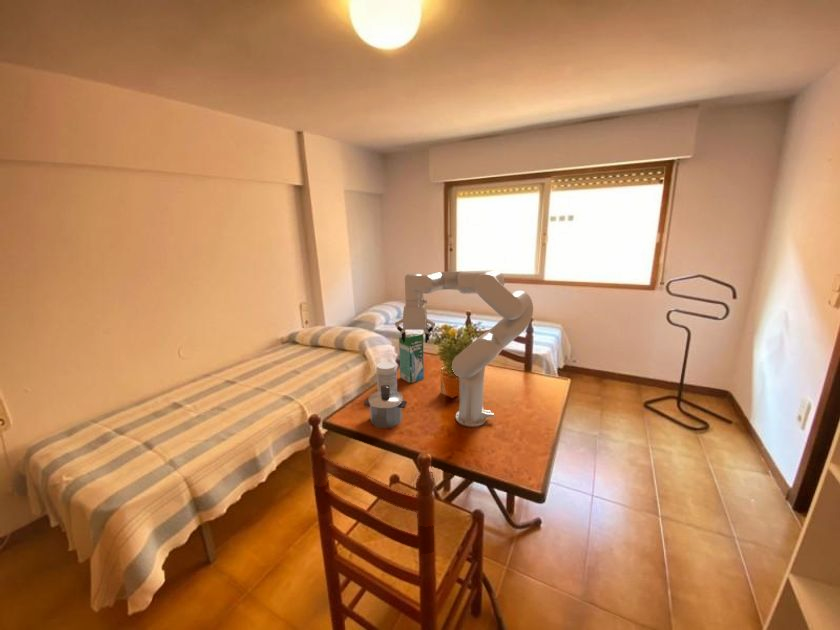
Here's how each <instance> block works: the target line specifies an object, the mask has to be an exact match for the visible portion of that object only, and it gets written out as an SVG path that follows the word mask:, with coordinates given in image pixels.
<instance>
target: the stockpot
mask: <svg viewBox="0 0 840 630" xmlns="http://www.w3.org/2000/svg"><path fill="white" fill-rule="evenodd" d="M368 399H369V398H366V399H365V401H364V403H363V406H364V407H365V406H366V407H369V416H370V423H371V424H372V426H374V427H376V428H378V429H389V428H394V427H396V426H398V425H399V424H400V423H401V421H402V419H403V415H402V414H403V413H402V409H406V406H407V404H408V401H407V400H403V401H402V403H401V404H400V405H398V406H396V407H393V408H389V409H379V408H375V407H372V406H371V405H370V404H369V401H368Z"/></svg>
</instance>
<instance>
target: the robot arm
mask: <svg viewBox="0 0 840 630" xmlns="http://www.w3.org/2000/svg"><path fill="white" fill-rule="evenodd" d="M440 290H453V291H454V290H456V291H459V293H460V294H463V295H465V294H467V295H469V294H477V295H478V296H479V297H480V298H481V299H482V300H483V301H484V302H485V303H486V304H487V305H488V306H489V307H490V308H492V310H494V312H496V313H497V314H498V315H499V316H501V319H500V320H499V321H498V322H497V323H496V324H495V325H494V326H493V327H491V328H490V329H488V330H487V331H486V332H484V333H482V334H481V335H480V336H479V337H477V338H476V339H474V341H473V342H471V343H470V344H469V345H468V346H467V347H466V348H464V349H463V350H461V351H460V353H458V354H457V355H456V356H455V357H454V358H453V359H452V362H451V368H452V370H453V372H454V374H455V375H456V376H458V377H459V408H458V411H456V413H455V421H456V422H458V423H459V424H460V425H461V426H466V427H470V428H471V427H472V428H475V427H480V426H482V425H484V424H486V421H487V418H490V419H494V418H495V413H493V412H491V410H488V409H487V410H486V409H484V382H485V371H486V367H487V366H488V365H490V363H492V362H493V361H494V360H495V359H496V358H497V357H498V356H499V354H500V353H501V352H502V351H503V350H504V349H505V348H506V347H507V346H509V344H510V343H512V342H513V341H514V340H516V338H518V337H519V336H520V335H522V333H524V331H525V330H526V329H527V327H528V326H529V324H530V323H531V320H532V319H533V313H534V304H533V300H532V298H531V296H530V295H529V293H527V292H525V291H523V290H514V291H512V292H511V291H510V290H509V289H508V288H506V287H505V277H504V275H503V273H501V272H500V271H498V270H492V269H491V270H467V271H465V270H464V271H462V270H461V271H460V270H459V271H436V272H430V273H427V274H421V273H418V272H417V273H415V272H414V273H410V272H409V273H407V274H405V276H404V297H405V298H404V299H405V305H404V307H403V312H402V319H399V320H398V321H395V323H394V325H395V328H396V330H398V331H399V333H400V334H401V337H402V340H403V342H405V341H406V334H407V333H406V330H410V331H411V330H412V331H414V330H416V331H417V330H418V331H419V330H421V331H424V333H425V335H424V339H425V344H427V343H428V341H429V340H430V334H431V332H432V331H433V329H434V328H435V326H436V322H435V321H432V320H430V319H428V316H427V308H426V305H424V304H427V303H428V302H427V301H428V300H427V299H424V294H432V293H434V292H437V291H440ZM400 324H402V326H401V325H400ZM428 325H430V327H429V328H428V327H427V326H428Z"/></svg>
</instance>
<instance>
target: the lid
mask: <svg viewBox="0 0 840 630" xmlns="http://www.w3.org/2000/svg"><path fill="white" fill-rule="evenodd" d="M367 399H368V401H369V404H370V405H371V406H372V407H375V408H379V409H389V408H393V407H396V406H398V405H400V404H401V403H402V401H404V400H403V399H404V397H403V395H402V394H401V392H399V391H398V390H397V391H393V390H390V386H389V385H382V386H381V391H378V390H377V391H375V392H373V393H372V394H370V395H369V396H368V398H367Z"/></svg>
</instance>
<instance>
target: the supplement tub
mask: <svg viewBox="0 0 840 630" xmlns="http://www.w3.org/2000/svg"><path fill="white" fill-rule="evenodd" d="M375 370H376V385H377V392H378V391H381V386H382V385H389V386H390V390H393V391H397V392H398V377H397V376H398V373H397V372H398V371H397V364H396V362H393V361H382V362H378V363H377V364H376V369H375Z"/></svg>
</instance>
